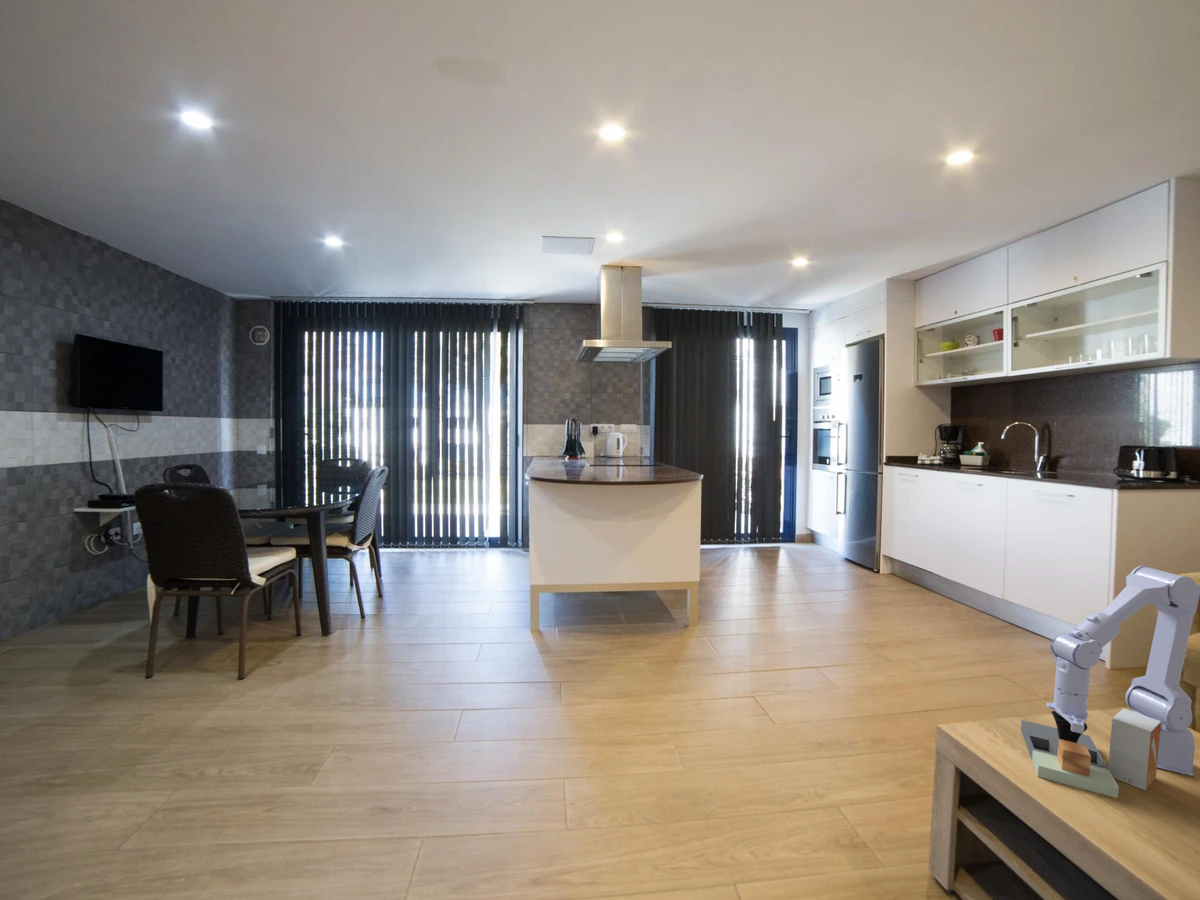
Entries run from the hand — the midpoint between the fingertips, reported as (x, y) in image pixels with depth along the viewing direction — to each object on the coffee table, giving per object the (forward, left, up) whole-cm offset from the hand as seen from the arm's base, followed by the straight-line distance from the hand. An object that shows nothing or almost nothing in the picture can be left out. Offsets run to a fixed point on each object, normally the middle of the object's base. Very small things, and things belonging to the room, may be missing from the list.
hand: (1066, 748), depth 123 cm
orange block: (0, +6, -1) cm, 6 cm away
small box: (-11, -1, -4) cm, 12 cm away
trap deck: (0, -1, -3) cm, 4 cm away
